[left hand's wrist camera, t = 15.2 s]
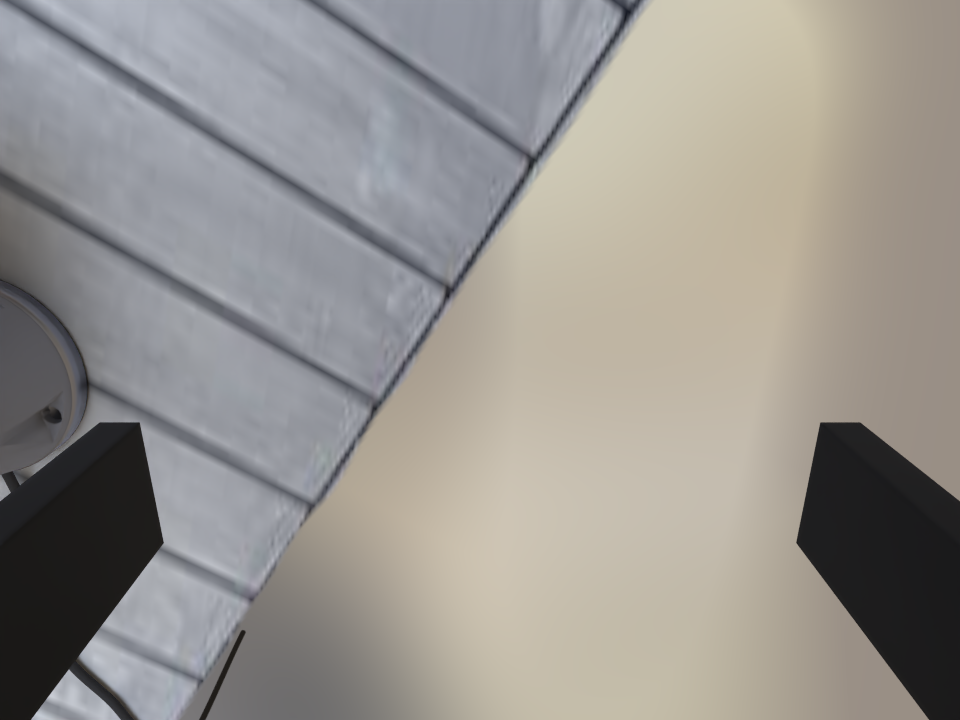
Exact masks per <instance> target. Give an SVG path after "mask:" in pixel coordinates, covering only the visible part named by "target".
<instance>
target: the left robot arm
mask: <svg viewBox="0 0 960 720" xmlns="http://www.w3.org/2000/svg"><path fill="white" fill-rule="evenodd" d="M86 400H87V380H86V374H85V369H84V366H83V362H82V360H81V357H80V354H79V352H78V350H77V348H76V346H75V344H74V342H73V340H72V339H71V337H70V336H69V334H68V333H67V331H66V330H65V328H64V327H63V326H62V324H61V323H60V322H59V321H58V320H57V319H56V318H55V316H54V315H53V314H52V313H51V312H50V311H48V310H47V309H46V308H45V307H44V306H43V305H42V304H40V303H39V302H38V301H37V300H35V299H34V298H33V297H31V296H30V295H28V294H27V293H25V292H23V291H22V290H20V289H19V288H17V287H15V286H13V285H11V284H9V283H6V282H4V281H1V280H0V474H1V475H2V477H3V478H4V480H5V482H6V484H7V486H8V488H9V490H10V492H11V493H10V494H9V495H8V496H6V497H5V498H4V499H3V500H1V501H0V720H31V719H32V717H33V716H34V715H35V713H36V712H37V711H38V709H39V708H40V707H41V705H42V704H43V703H44V701H45V700H46V699H47V697H48V696H49V695H50V694H51V692H52V691H53V690H54V688H55V687H56V686H57V684H58V683H59V682H60V680H61V679H62V678H63V676H64V675H65V674H66V672H67V671H68V670H70V671H71V672H72V673H73V674H74V675H75V676H76V677H77V678H78V679H79V680H81V681H82V682H83V683H84V684H85V685H86V686H87V687H89V688H90V689H91V690H92V691H93V692H94V693H96V694H97V695H98V696H99V697H100V698H101V699H102V700H104V701H105V702H106V703H107V704H108V705H109V706H110V707H111V708H112V709H113V711H114V712H115V713H116V714H117V715H118V717H119V718H120V719H121V720H133V718H132V717H131V716H130V715H129V713H128V712H127V711H126V710H125V708H124V707H123V706H122V705H121V704H120V703H119V701H118V700H117V699H116V698H115V697H114V696H113V695H112V694H111V693H110V692H108V691H107V690H106V689H105V688H104V687H103V686H102V685H100V684H99V683H98V682H97V681H96V680H95V679H93V678H92V677H91V676H90V675H89V674H88V673H87V672H86V671H85V670H83V668H82V667H81V666H80V665H79V664H78V663H77V662H76V661H75V660H76V659H77V658H78V656H79V655H80V654H81V652H82V651H83V650H84V648H85V647H86V646H87V644H88V643H89V642H90V640H91V639H92V638H93V636H94V635H95V634H96V632H97V631H98V630H99V628H100V627H101V626H102V624H103V623H104V622H105V620H106V619H107V618H108V616H109V615H110V614H111V612H112V611H113V610H114V608H115V607H116V606H117V604H118V603H119V602H120V600H121V599H122V598H123V596H124V595H125V594H126V592H127V591H128V590H129V588H130V587H131V586H132V584H133V583H134V582H135V580H136V579H137V578H138V576H139V575H140V574H141V572H142V571H143V570H144V568H145V567H146V566H147V564H148V563H149V562H150V560H151V559H152V558H153V556H154V555H155V554H156V552H157V551H158V550H159V548H160V547H161V546H162V544H163V543H164V542H163V537H162V532H161V527H160V522H159V517H158V512H157V507H156V502H155V497H154V492H153V487H152V482H151V477H150V472H149V467H148V462H147V457H146V452H145V447H144V442H143V437H142V432H141V427H140V423H99V424H97V425H96V426H95V427H94V428H92V429H91V430H90V431H89V432H87V433H86V434H85V435H83V436H82V437H81V438H80V439H78V440H77V441H76V442H75V443H73V444H72V445H71V446H70V447H68V448H67V449H66V450H65V451H63V452H62V453H61V454H59V455H58V456H57V457H56V458H54V459H53V460H52V461H51V462H49V463H48V464H47V465H46V466H44V467H43V468H42V469H41V470H39V471H38V472H37V473H35V474H34V475H33V476H32V477H30V478H29V479H28V480H27V481H25V482H24V483H23V484H22V485H19V483H18V481H17V479H16V477H15V475H14V473H13V471H15V470H19V469H23V468H25V467H28V466H31V465H33V464H35V463H37V462H39V461H40V460H42V459H43V458H45V457H46V456H48V455H49V454H50V453H52V452H53V451H54V450H55V449H57V448H58V447H59V446H61V445H62V444H63V443H64V442H65V441H67V439H68V438H69V437H70V436H71V435H72V434H73V433H74V431H75V430H76V429H77V427H78V425H79V423H80V421H81V419H82V416H83V414H84V410H85V407H86ZM796 543H797V544H798V546H799V547H800V548H801V550H802V551H803V552H804V554H805V555H806V556H807V558H808V559H809V560H810V562H811V563H812V564H813V566H814V567H815V568H816V570H817V571H818V572H819V574H820V575H821V576H822V578H823V579H824V580H825V582H826V583H827V584H828V586H829V587H830V588H831V590H832V591H833V592H834V594H835V595H836V596H837V598H838V599H839V600H840V602H841V603H842V604H843V606H844V607H845V608H846V609H847V611H848V612H849V614H850V615H851V616H852V618H853V619H854V620H855V622H856V623H857V624H858V626H859V627H860V628H861V630H862V631H863V632H864V634H865V635H866V636H867V638H868V639H869V640H870V642H871V643H872V644H873V646H874V647H875V648H876V650H877V651H878V652H879V654H880V655H881V656H882V658H883V659H884V660H885V662H886V663H887V664H888V666H889V667H890V668H891V669H892V671H893V672H894V673H895V675H896V676H897V678H898V679H899V680H900V682H901V683H902V684H903V686H904V687H905V688H906V690H907V691H908V692H909V694H910V695H911V696H912V697H913V699H914V700H915V701H916V703H917V704H918V705H919V707H920V708H921V709H922V711H923V712H924V713H925V715H926V716H927V717H928V719H929V720H960V501H959V500H957V499H956V498H955V497H954V496H952V495H951V494H950V493H949V492H947V491H946V490H945V489H943V488H942V487H941V486H940V485H938V484H937V483H936V482H935V481H933V480H932V479H931V478H930V477H928V476H927V475H926V474H925V473H923V472H922V471H921V470H919V469H918V468H917V467H916V466H914V465H913V464H912V463H911V462H909V461H908V460H907V459H906V458H904V457H903V456H902V455H900V454H899V453H898V452H897V451H895V450H894V449H893V448H892V447H890V446H889V445H888V444H887V443H885V442H884V441H883V440H882V439H880V438H879V437H878V436H877V435H875V434H874V433H873V432H871V431H870V430H869V429H868V428H866V427H865V426H864V425H863V424H861V423H820V427H819V432H818V437H817V442H816V447H815V452H814V457H813V462H812V467H811V472H810V477H809V482H808V487H807V492H806V497H805V502H804V507H803V512H802V517H801V522H800V527H799V532H798V537H797V542H796ZM245 633H246V631H245V630H241V632H240V634H239V636H238V638H237V640H236V642H235V644H234V646H233V648H232V650H231V652H230V655H229V657H228V659H227V661H226V663H225V665H224V668H223V670H222V672H221V674H220V676H219V678H218V681H217V683H216V685H215V687H214V689H213V691H212V694H211V696H210V698H209V700H208V702H207V704H206V706H205V709H204V711H203V713H202V715H201V717H200V719H199V720H206V718H207V716H208V714H209V712H210V709H211V707H212V705H213V703H214V701H215V699H216V697H217V694H218V692H219V690H220V688H221V685H222V683H223V681H224V679H225V677H226V674H227V672H228V670H229V668H230V665H231V663H232V661H233V659H234V657H235V654H236V652H237V650H238V648H239V646H240V644H241V642H242V640H243V637H244V635H245Z"/></svg>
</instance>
